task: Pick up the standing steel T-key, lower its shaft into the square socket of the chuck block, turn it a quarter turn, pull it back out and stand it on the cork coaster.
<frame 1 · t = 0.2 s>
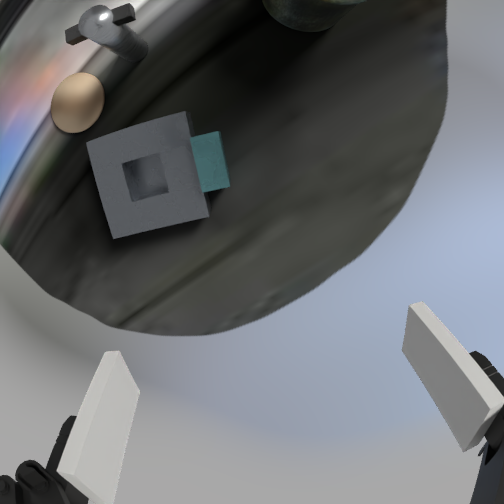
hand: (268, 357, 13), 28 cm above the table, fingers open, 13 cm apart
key: (135, 50, 30), on the table
coaster: (77, 102, 32), on the table
chuck block: (153, 172, 36), on the table
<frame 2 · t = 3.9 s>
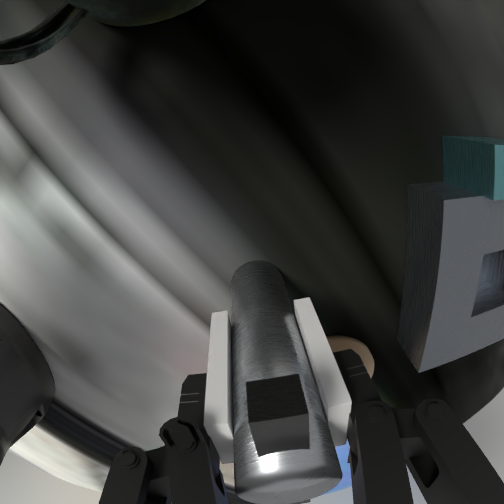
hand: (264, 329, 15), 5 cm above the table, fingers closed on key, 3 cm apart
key: (257, 284, 19), on the table, touching gripper
coaster: (323, 375, 23), on the table
chuck block: (467, 257, 20), on the table
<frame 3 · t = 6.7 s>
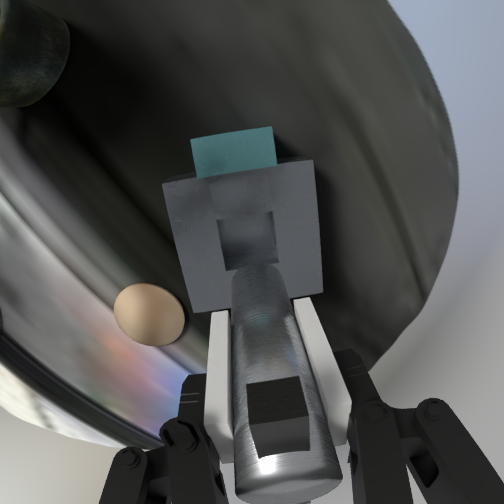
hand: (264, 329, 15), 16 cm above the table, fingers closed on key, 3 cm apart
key: (257, 285, 19), point 11 cm above the table, touching gripper
mug: (26, 74, 22), on the table
coaster: (149, 314, 33), on the table
chuck block: (246, 227, 30), on the table
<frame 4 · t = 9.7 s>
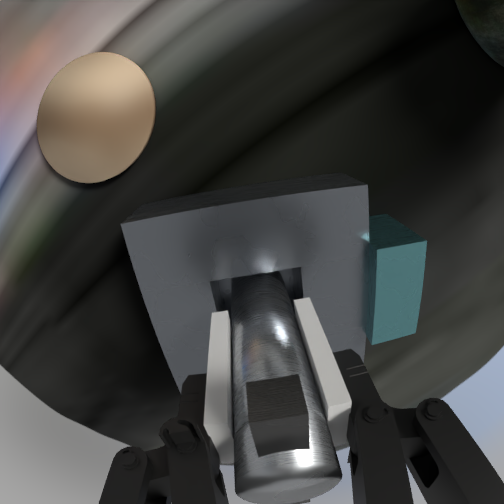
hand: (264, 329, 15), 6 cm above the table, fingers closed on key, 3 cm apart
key: (257, 285, 19), point 1 cm above the table, touching gripper
mug: (479, 0, 13), on the table
coaster: (93, 116, 16), on the table
chuck block: (255, 278, 20), on the table
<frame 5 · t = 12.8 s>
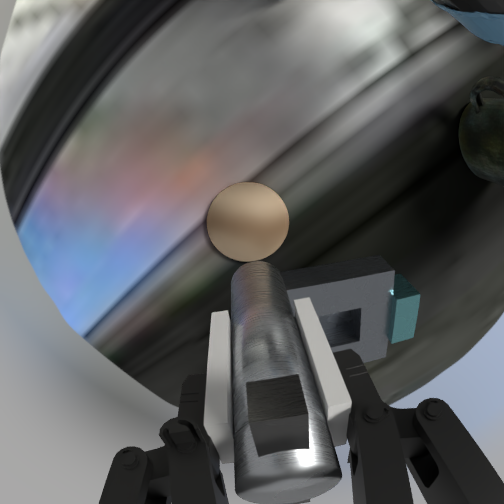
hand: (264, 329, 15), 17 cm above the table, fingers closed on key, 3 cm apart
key: (257, 285, 19), point 13 cm above the table, touching gripper
mug: (476, 128, 28), on the table
coaster: (247, 221, 31), on the table
chuck block: (330, 309, 36), on the table
when the fingers open (6 cm above the table, at t = 15.5 s): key stays where it is, resting on coaster.
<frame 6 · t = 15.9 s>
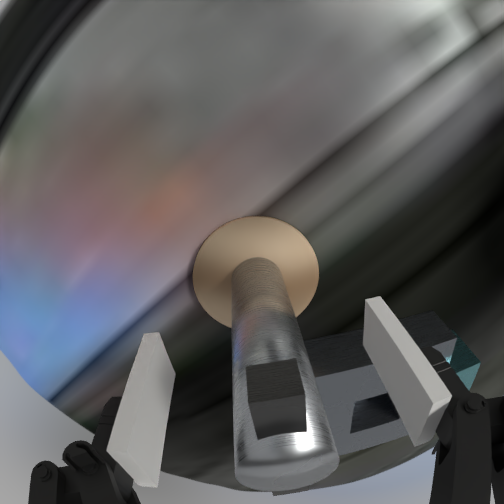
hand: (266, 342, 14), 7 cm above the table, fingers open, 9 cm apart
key: (256, 280, 20), point 1 cm above the table, touching coaster
coaster: (255, 276, 20), on the table
chuck block: (363, 379, 25), on the table
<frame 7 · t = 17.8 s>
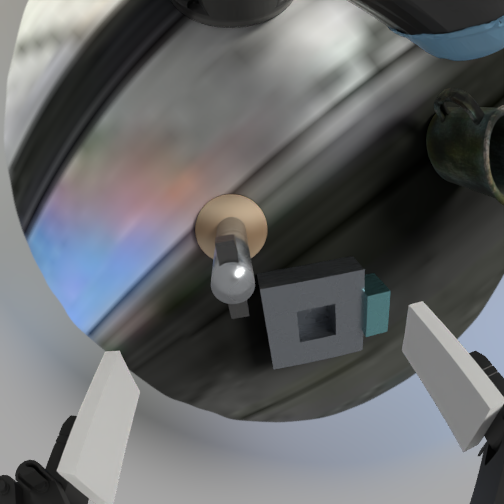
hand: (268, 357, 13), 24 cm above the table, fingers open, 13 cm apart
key: (231, 230, 35), point 1 cm above the table, touching coaster
mug: (445, 136, 33), on the table
coaster: (231, 229, 35), on the table
chuck block: (309, 306, 40), on the table
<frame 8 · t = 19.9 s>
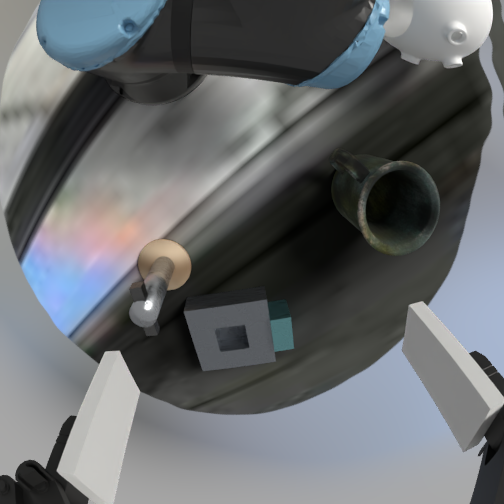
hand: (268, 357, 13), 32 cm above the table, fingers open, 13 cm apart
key: (164, 266, 45), point 1 cm above the table, touching coaster
mug: (354, 181, 43), on the table
coaster: (164, 264, 45), on the table
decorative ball: (393, 15, 33), on the table
chuck block: (232, 323, 50), on the table
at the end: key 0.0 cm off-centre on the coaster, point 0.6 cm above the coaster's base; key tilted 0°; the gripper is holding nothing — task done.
